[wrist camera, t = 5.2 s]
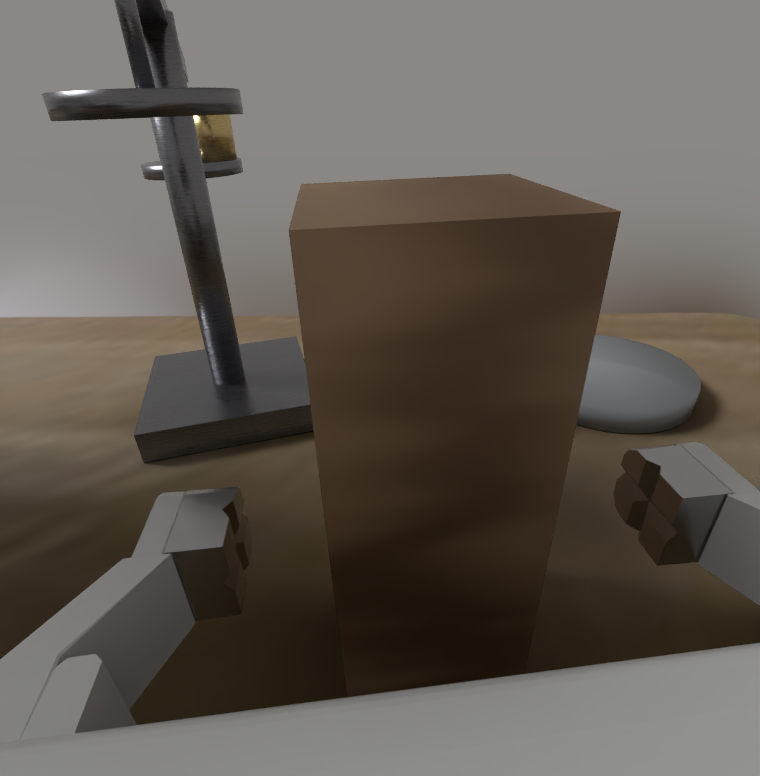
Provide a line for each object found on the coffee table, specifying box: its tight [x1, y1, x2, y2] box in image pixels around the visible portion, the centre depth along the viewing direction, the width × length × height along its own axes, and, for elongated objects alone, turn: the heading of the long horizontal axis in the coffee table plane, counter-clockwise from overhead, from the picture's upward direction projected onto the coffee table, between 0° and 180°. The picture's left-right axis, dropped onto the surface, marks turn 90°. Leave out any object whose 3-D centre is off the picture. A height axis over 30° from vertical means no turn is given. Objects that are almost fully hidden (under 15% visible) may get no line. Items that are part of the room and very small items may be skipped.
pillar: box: [289, 174, 621, 697], centre depth 11 cm, size 4×4×12 cm
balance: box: [42, 0, 314, 463], centre depth 21 cm, size 8×18×18 cm, turn 16°
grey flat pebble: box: [576, 335, 701, 434], centre depth 25 cm, size 8×8×1 cm
